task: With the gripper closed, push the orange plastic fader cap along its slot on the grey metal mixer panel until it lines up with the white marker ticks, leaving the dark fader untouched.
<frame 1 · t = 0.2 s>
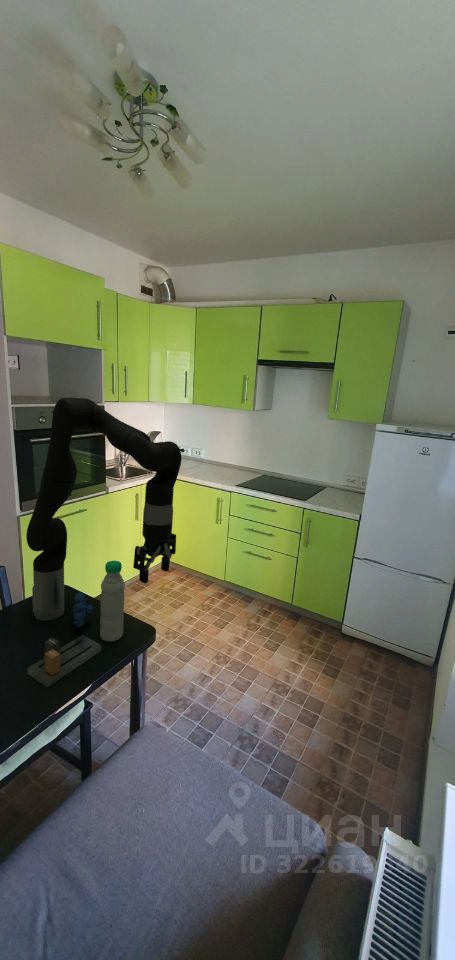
hand: (154, 576, 104), 29 cm above the table, fingers open, 8 cm apart
fader: (52, 661, 102), point 5 cm above the table, slide at 0.0 cm
console: (66, 662, 110), on the table
water bottle: (111, 636, 123), on the table
fader2: (52, 649, 107), point 5 cm above the table, slide at 0.0 cm
grapes: (82, 626, 126), on the table
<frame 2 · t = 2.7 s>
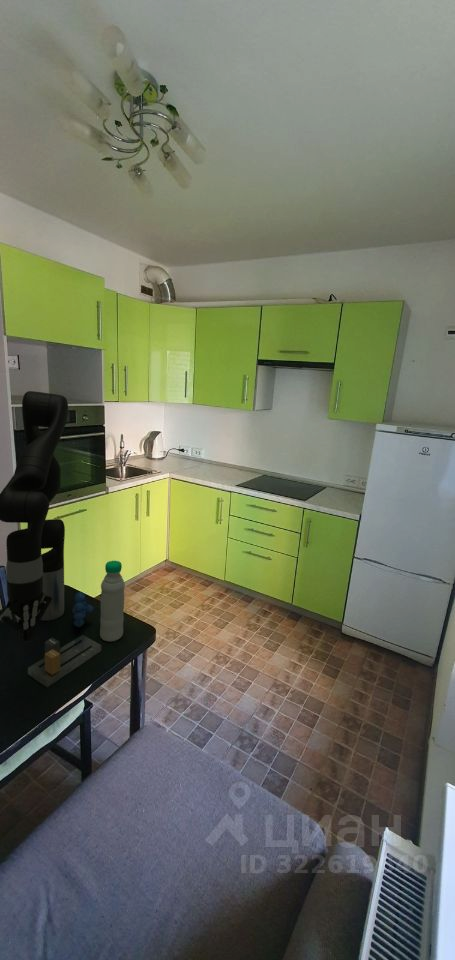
hand: (26, 639, 94), 16 cm above the table, fingers closed
nothing on the table moved.
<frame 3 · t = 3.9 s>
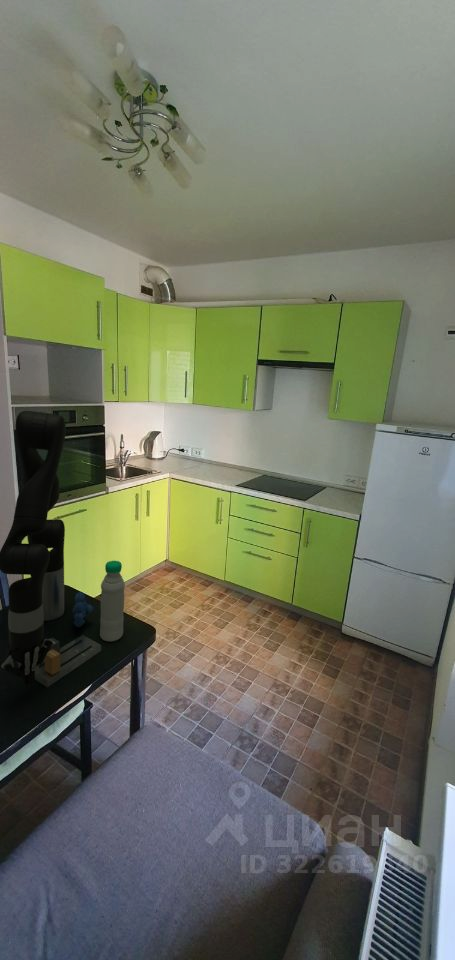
hand: (28, 683, 97), 3 cm above the table, fingers closed
nothing on the table moved.
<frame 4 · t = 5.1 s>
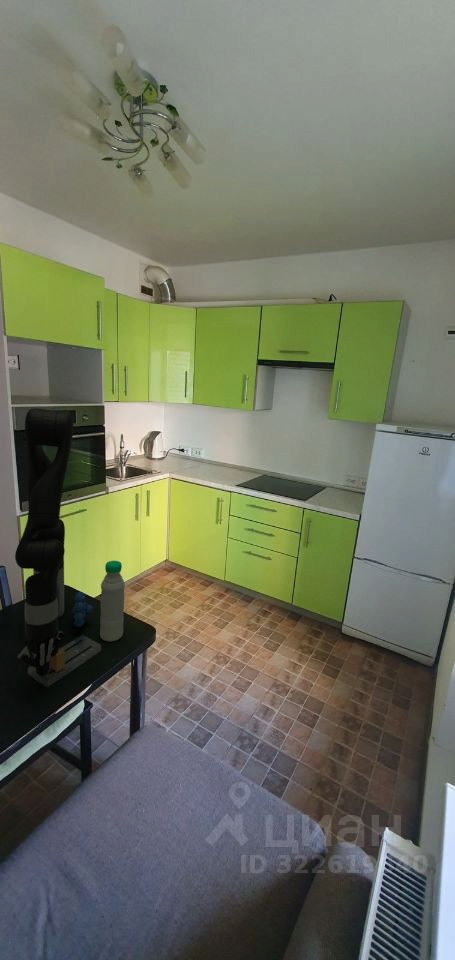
hand: (42, 674, 101), 3 cm above the table, fingers closed
fader: (57, 658, 104), point 5 cm above the table, slide at 1.4 cm, touching gripper
everything else where it was.
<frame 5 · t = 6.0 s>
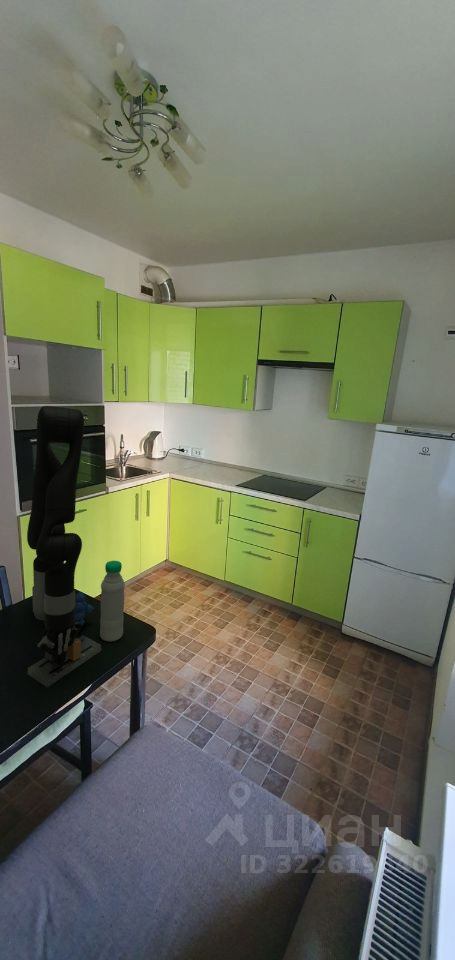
hand: (60, 662, 105), 3 cm above the table, fingers closed
fader: (73, 648, 108), point 5 cm above the table, slide at 6.7 cm, touching gripper
everything else where it was.
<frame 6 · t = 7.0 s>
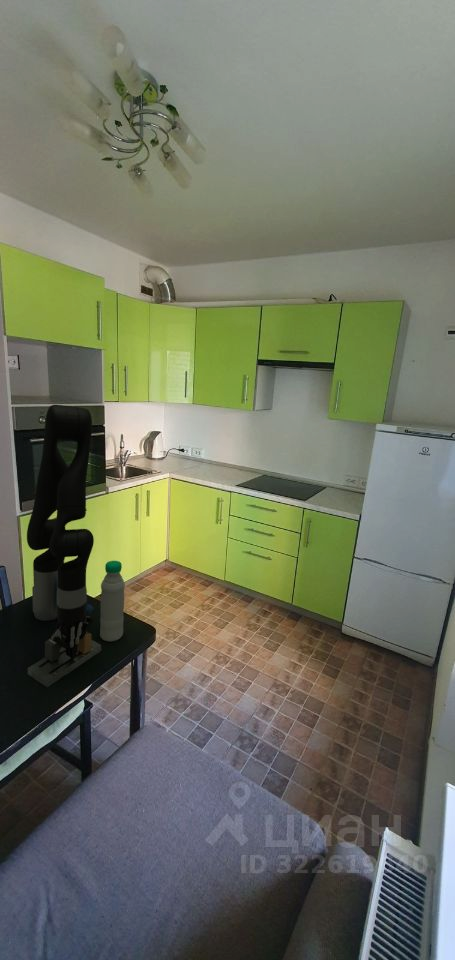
hand: (71, 655, 108), 3 cm above the table, fingers closed
fader: (84, 641, 111), point 5 cm above the table, slide at 10.3 cm, touching gripper
everything else where it was.
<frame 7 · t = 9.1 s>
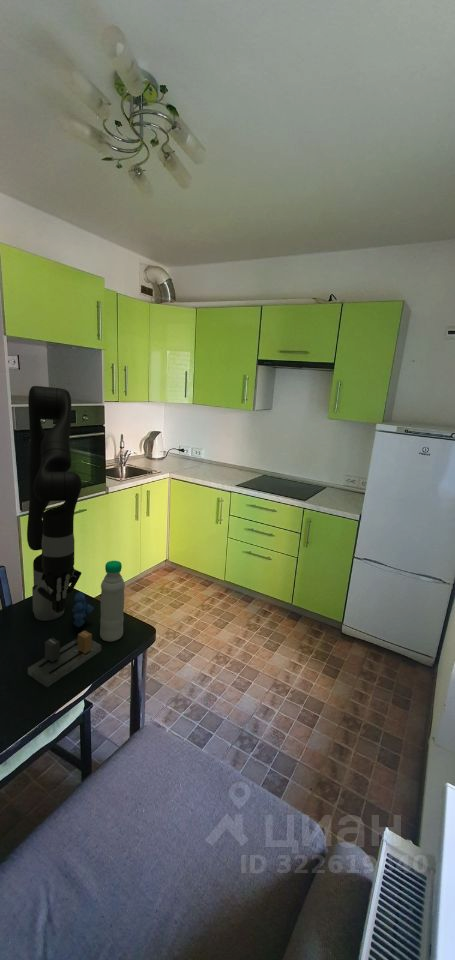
hand: (58, 610, 101), 19 cm above the table, fingers closed
fader: (84, 641, 111), point 5 cm above the table, slide at 10.5 cm
everything else where it was.
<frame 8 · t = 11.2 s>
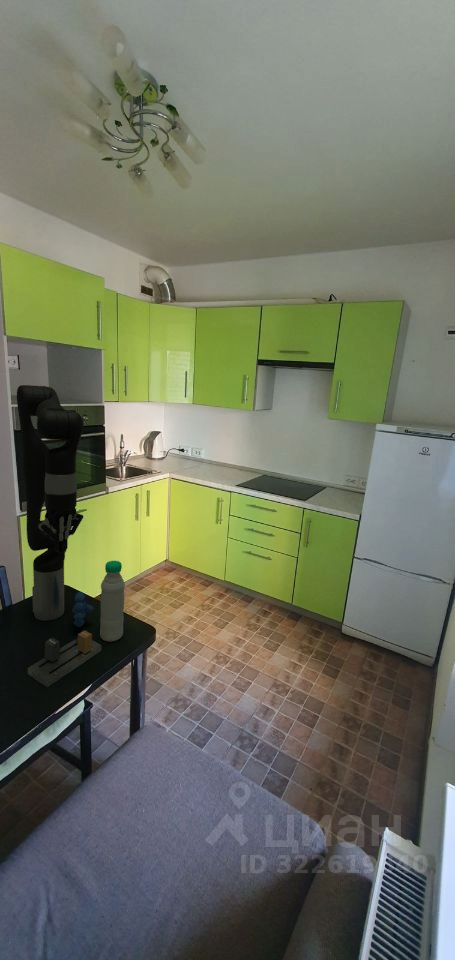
hand: (61, 551, 103), 33 cm above the table, fingers closed
nothing on the table moved.
at the end: fader slide at 10.5 cm; fader2 slide at 0.0 cm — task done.
